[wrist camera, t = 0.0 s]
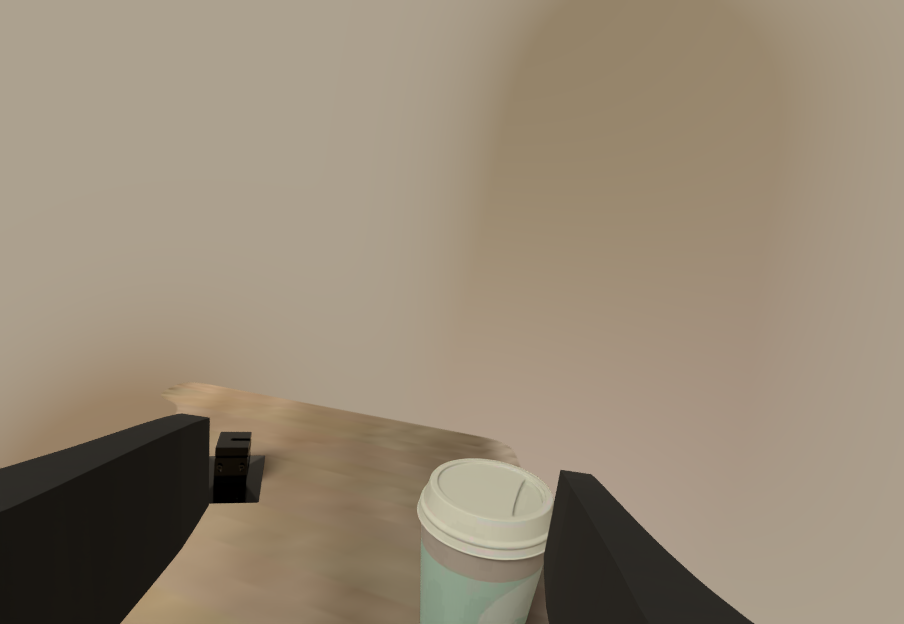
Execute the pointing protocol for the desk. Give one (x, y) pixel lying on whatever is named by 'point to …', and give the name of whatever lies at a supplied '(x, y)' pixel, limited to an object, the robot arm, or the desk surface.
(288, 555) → the desk surface
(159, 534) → the robot arm
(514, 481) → the coffee cup
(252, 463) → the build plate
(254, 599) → the desk surface
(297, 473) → the desk surface
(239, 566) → the desk surface
